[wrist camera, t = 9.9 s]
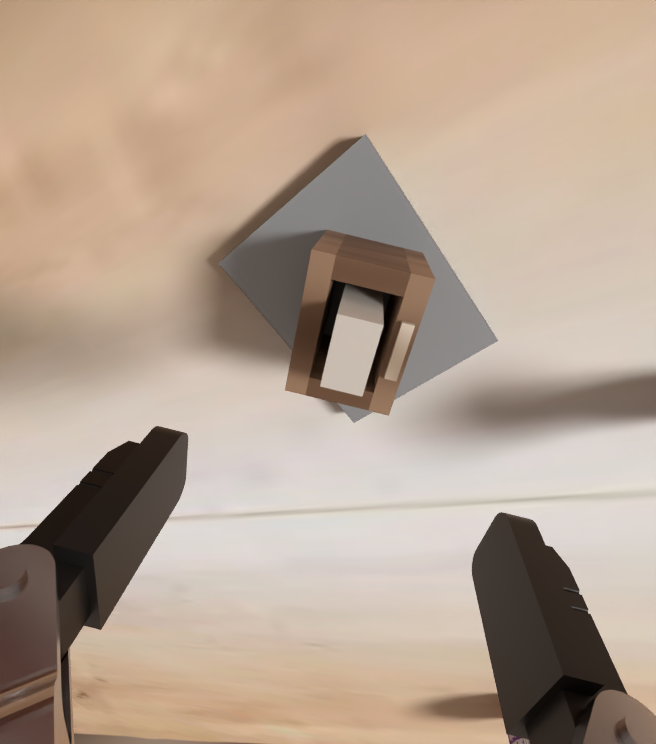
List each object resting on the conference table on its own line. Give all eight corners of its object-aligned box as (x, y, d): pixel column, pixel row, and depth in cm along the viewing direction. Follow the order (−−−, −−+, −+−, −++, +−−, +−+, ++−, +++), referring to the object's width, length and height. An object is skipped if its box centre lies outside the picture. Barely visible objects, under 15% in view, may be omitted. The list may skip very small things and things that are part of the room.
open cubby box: (327, 229, 23) (310, 250, 18) (422, 252, 23) (436, 281, 18) (304, 345, 27) (283, 393, 21) (386, 365, 27) (388, 418, 21)
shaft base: (366, 135, 22) (357, 118, 14) (492, 331, 26) (544, 410, 18) (226, 258, 26) (153, 303, 18) (355, 411, 30) (345, 506, 22)
